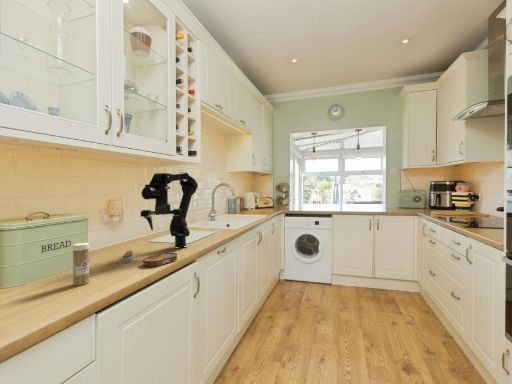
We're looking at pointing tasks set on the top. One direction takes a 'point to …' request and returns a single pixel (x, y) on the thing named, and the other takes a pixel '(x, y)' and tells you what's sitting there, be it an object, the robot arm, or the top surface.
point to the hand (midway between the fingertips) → (162, 229)
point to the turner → (126, 257)
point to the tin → (159, 259)
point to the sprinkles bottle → (80, 264)
